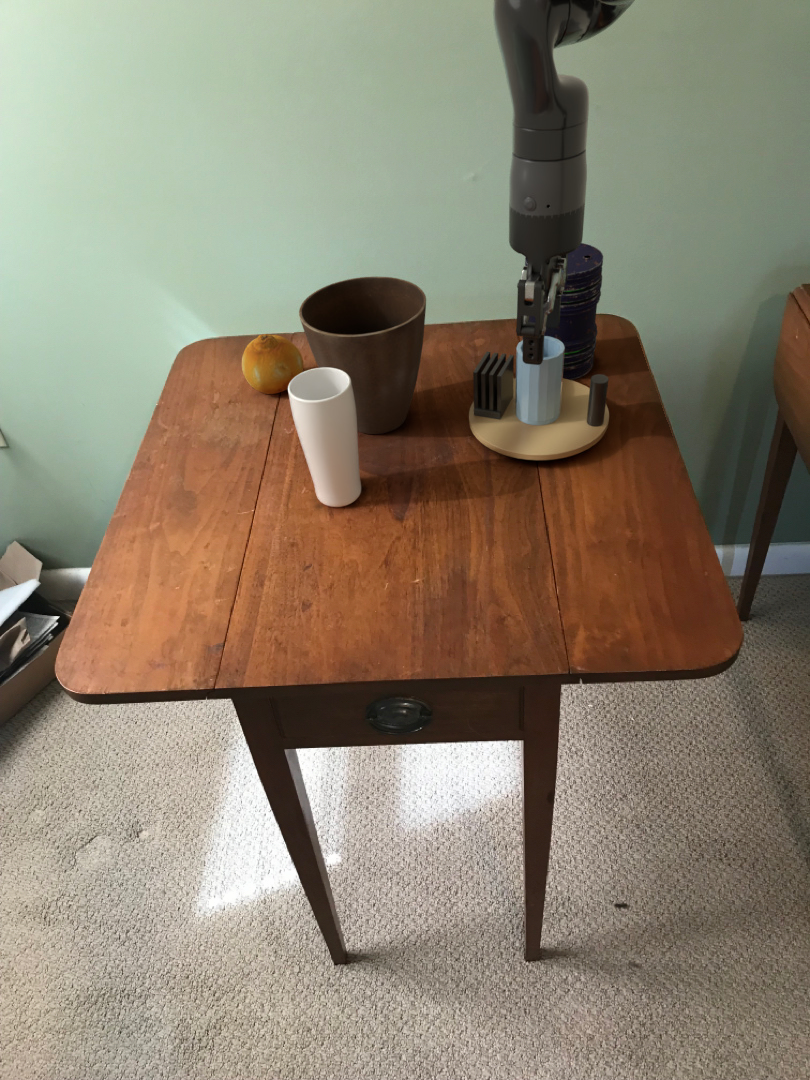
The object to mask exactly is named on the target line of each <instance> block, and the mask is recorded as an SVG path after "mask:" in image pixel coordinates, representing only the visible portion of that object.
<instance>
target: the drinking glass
mask: <svg viewBox="0 0 810 1080" xmlns="http://www.w3.org/2000/svg"><path fill="white" fill-rule="evenodd" d="M287 393H288V400H289V406H290V411H291V416H292V420H293V423H294V427H295V430H296V433H297V436H298V439H299V443H300V446H301V448H302V451H303V454H304V455H303V456H304V457H305V461H306V464H307V466H308V470H309V473H310V477H311V480H312V483H313V486H314V492H315V495H316V498H317V500H318V501H319V502H320V503H321V504H323V505H325V506H327V507H332V508H341V507H347V506H349V505H351V504H352V503H355V501H357V500H358V498H359V497H360V495H361V493H362V481H361V473H360V471H361V470H360V455H359V435H358V434H359V433H358V432H359V431H357V414H356V405H355V398H354V393H353V388H352V383H351V379H350V377H349V375H348V374H347V373H345V372H344V371H342V370H339V369H336V368H328V367H323V368H319V367H315V368H311V369H308V370H305V371H303V372H302V373H300V374H298V375H297V376H296V377H294V378H293V379H292V380H291V382H290V383H289V385H288V389H287Z"/></svg>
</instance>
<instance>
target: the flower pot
mask: <svg viewBox="0 0 810 1080" xmlns="http://www.w3.org/2000/svg"><path fill="white" fill-rule="evenodd" d="M426 310H427V297H426V294H425V292H424V291H423V289H422V288H420V287H419V286H418V285H417V284H415V283H413V282H411V281H408V280H405V279H401V278H397V277H391V276H390V277H389V276H376V275H375V276H361V277H354V278H348V279H344V280H340V281H336V282H334V283H330V284H328V285H325V286H323V287H321V288H319V289H317V290H316V291H314V292H313V293H311V294H310V295H309V296H307V297H306V298H305V299H304V300H303V302H302V303H301V305H300V306H299V310H298V317H299V319H300V323H301V326H302V328H303V332H304V335H305V337H306V340H307V343H308V345H309V346H308V347H309V348H310V351H311V353H312V356H313V358H314V361H315V363H316V366H317V368H323V367H328V368H336V369H339V370H342V371H344V372H345V373H347V374H348V375H349V377H350V379H351V383H352V388H353V393H354V398H355V405H356V414H357V431H358V432H359V433H362V434H366V435H382V434H387V433H389V432H392V431H395V430H397V429H398V428H399V427H401V426H402V425H403V424H404V422H405V421H406V419H407V417H408V414H409V410H410V406H411V404H412V400H413V396H414V393H415V389H416V385H417V380H418V376H419V371H420V367H421V359H422V354H423V353H422V352H423V345H424V336H425V326H426V325H425V324H426V323H425V322H426Z"/></svg>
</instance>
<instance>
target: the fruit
mask: <svg viewBox="0 0 810 1080" xmlns="http://www.w3.org/2000/svg"><path fill="white" fill-rule="evenodd" d="M241 369H242V373H243V376H244V378H245V381H247V383H248V384H249V385H250V387H252V388H253V389H254V390H255V391H257V392H259V393H262V394H266V395H273V394H278V393H282V392H285V391H288V385H289V383H290V382H291V380H292V379H293V378H294V377H296V376H297V375H298V374H300V373H302V372H304V359H303V356H302V353H301V351H300V350H299V348H298V347H297V346H296V345H295V343H293V342H291V341H290V340H289V339H287V338H286V337H284V336H281V335H278V334H269V333H265V334H263V333H261V334H260V335H258V336H257V337H256V338H254V339H253V340H251V341H250V342H249V343H248V344H247V345H246V347H245V349H244V350H243V353H242V356H241Z"/></svg>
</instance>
